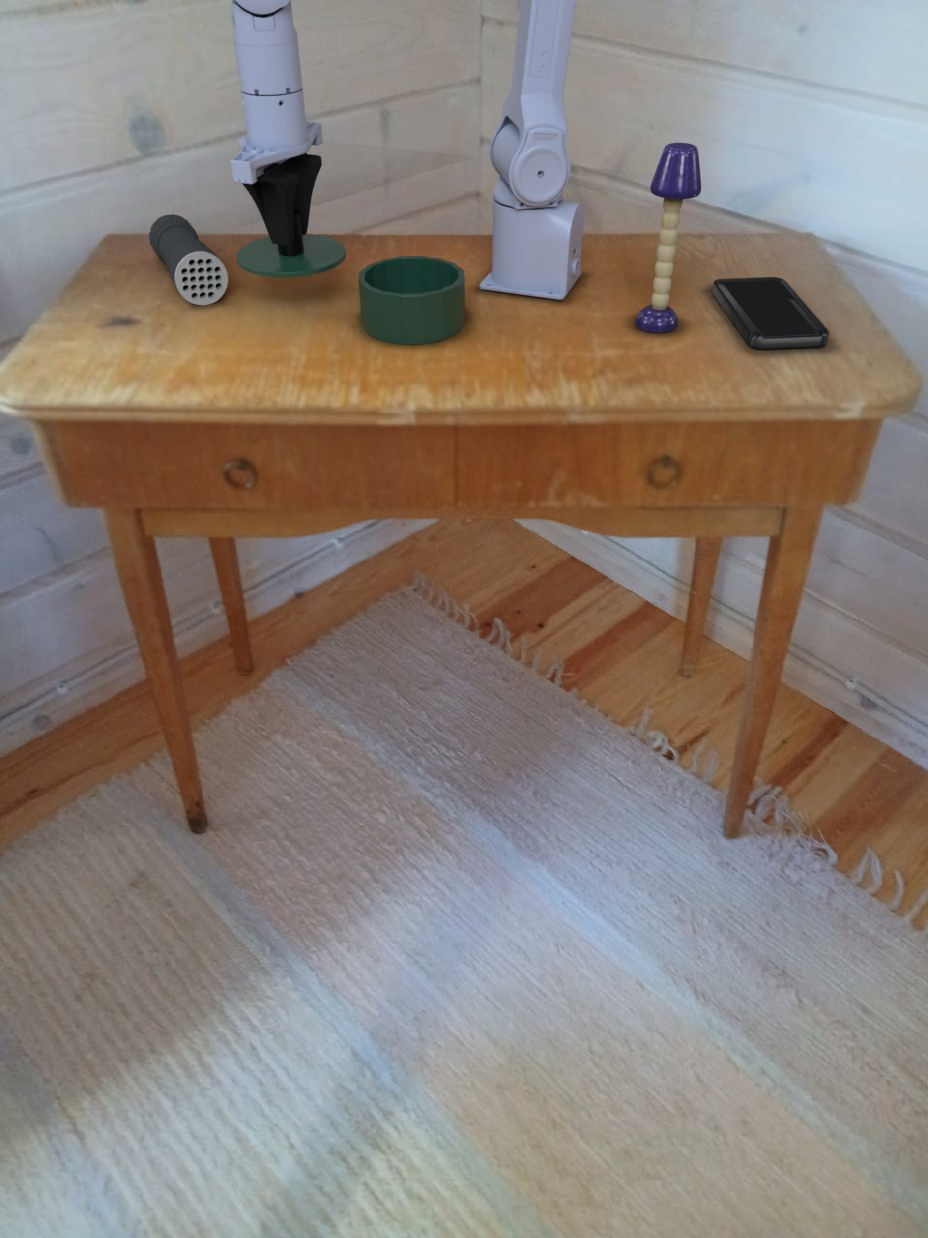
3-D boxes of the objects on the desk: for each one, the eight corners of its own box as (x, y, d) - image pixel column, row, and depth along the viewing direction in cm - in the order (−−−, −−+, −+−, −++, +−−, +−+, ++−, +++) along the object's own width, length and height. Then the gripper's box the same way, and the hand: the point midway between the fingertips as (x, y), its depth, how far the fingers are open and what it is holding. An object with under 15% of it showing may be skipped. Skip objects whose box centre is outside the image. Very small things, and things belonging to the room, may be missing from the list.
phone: (753, 339, 91) (711, 278, 102) (751, 350, 92) (709, 288, 103) (834, 335, 91) (783, 276, 103) (831, 346, 92) (780, 286, 103)
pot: (478, 309, 99) (478, 262, 96) (443, 351, 92) (442, 301, 89) (387, 296, 102) (384, 250, 99) (345, 335, 95) (341, 287, 92)
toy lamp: (629, 314, 98) (649, 139, 87) (673, 312, 99) (699, 137, 88) (640, 334, 95) (663, 154, 84) (686, 332, 95) (714, 152, 84)
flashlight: (151, 261, 110) (140, 212, 107) (197, 253, 112) (188, 205, 109) (181, 309, 100) (170, 257, 96) (232, 300, 102) (223, 248, 98)
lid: (364, 250, 101) (360, 200, 98) (316, 289, 93) (311, 236, 90) (270, 238, 104) (264, 189, 101) (217, 275, 96) (208, 223, 93)
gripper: (271, 69, 94) (288, 211, 103) (191, 103, 84) (218, 257, 93) (335, 74, 93) (347, 218, 101) (262, 109, 82) (282, 266, 91)
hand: (289, 238), depth 97 cm, fingers closed on lid, 2 cm apart
